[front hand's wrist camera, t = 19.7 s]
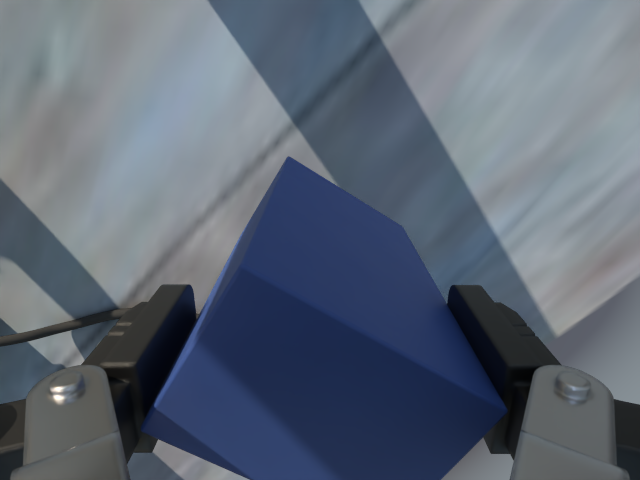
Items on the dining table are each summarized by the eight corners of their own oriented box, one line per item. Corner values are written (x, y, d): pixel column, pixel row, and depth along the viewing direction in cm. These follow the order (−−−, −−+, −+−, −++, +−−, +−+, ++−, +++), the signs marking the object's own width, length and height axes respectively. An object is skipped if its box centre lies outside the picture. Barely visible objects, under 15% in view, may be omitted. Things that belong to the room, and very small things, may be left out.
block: (288, 155, 17) (240, 263, 7) (403, 226, 18) (510, 412, 8) (239, 237, 18) (137, 432, 8) (349, 299, 19) (383, 540, 9)
